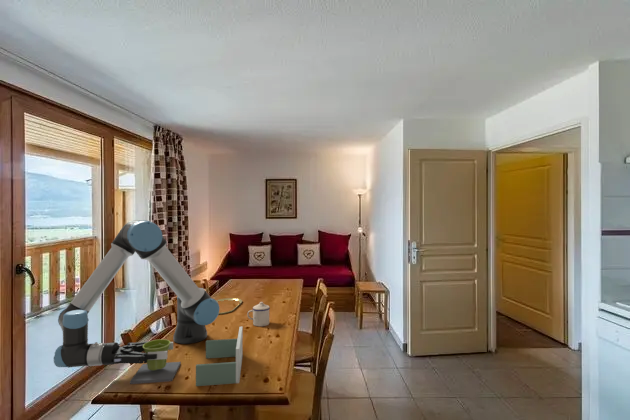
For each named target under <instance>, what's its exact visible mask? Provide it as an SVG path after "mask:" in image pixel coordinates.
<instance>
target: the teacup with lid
mask: <svg viewBox="0 0 630 420" xmlns="http://www.w3.org/2000/svg"><path fill="white" fill-rule="evenodd" d="M270 309H271V308H270V305H268V304H265V303H264V302H263V301H260V302H259V303H258V304H256V305H254V306H253V307H252V309H250V310H248V311H247V318H248V319H249V320H252V323H253V324H252V325H253V326H255V327H266V326H269V324H270ZM250 313H252V317H251V316H250Z"/></svg>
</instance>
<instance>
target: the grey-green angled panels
mask: <svg viewBox="0 0 630 420" xmlns="http://www.w3.org/2000/svg"><path fill="white" fill-rule="evenodd" d="M243 328H244V327H243V326H239V329H238V334H237V338H227V339H226V338H224V339H209V340H208V339H207V340H205V359H218V358H235V361H231V362H228V361H227V362H215V363H214V362H213V363H199V364H198V363H197V364H195V387H202V386H203V387H205V386H215V385H217V386H219V385H230V384H240V379H241V371H242V363H243V340H244V339H243Z"/></svg>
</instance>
